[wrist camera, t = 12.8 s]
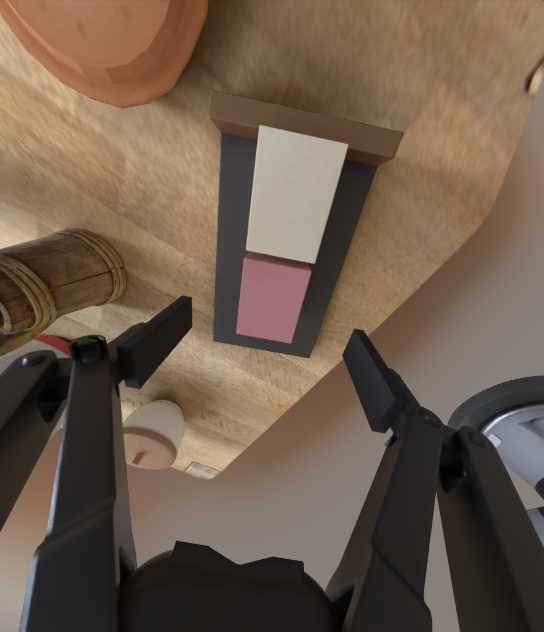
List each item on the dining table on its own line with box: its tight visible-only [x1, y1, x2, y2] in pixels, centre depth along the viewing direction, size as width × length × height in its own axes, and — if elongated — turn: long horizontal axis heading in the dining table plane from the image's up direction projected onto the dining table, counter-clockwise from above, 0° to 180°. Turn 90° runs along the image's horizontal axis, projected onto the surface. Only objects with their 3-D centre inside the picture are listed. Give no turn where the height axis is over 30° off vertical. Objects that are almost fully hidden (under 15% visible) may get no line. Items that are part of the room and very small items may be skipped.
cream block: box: [246, 125, 348, 264], centre depth 17 cm, size 6×8×5 cm
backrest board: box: [209, 90, 403, 358], centre depth 21 cm, size 14×24×4 cm, turn 170°
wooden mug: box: [0, 229, 127, 356], centre depth 18 cm, size 9×14×18 cm, turn 151°
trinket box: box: [122, 400, 185, 470], centre depth 34 cm, size 11×11×9 cm
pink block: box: [236, 251, 311, 343], centre depth 21 cm, size 6×8×5 cm
